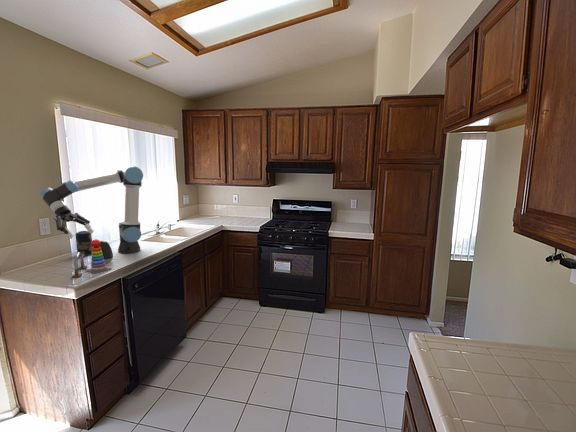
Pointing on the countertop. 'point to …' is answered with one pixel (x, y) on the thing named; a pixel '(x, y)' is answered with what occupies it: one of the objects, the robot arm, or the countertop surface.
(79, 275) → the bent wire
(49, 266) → the countertop surface
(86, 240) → the canister
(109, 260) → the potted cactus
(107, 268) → the mat
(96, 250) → the stacking toy
